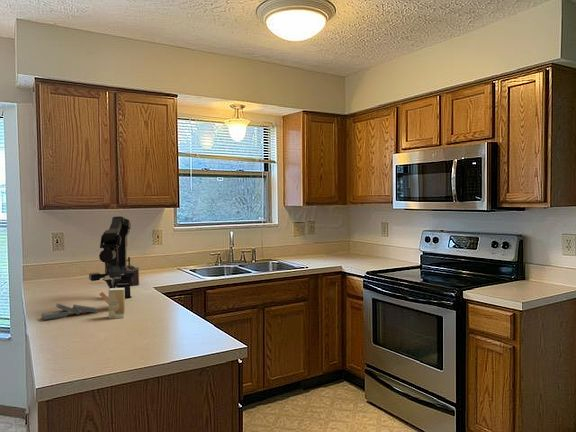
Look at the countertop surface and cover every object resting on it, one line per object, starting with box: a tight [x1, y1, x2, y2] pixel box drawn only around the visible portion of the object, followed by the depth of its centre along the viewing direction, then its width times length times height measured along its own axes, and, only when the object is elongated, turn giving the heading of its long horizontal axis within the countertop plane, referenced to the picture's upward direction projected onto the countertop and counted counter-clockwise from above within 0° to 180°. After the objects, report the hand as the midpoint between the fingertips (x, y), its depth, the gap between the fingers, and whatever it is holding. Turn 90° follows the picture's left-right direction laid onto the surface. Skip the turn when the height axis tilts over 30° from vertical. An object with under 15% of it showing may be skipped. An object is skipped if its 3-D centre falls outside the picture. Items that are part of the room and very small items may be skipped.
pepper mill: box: [127, 256, 140, 287], centre depth 263 cm, size 16×11×18 cm
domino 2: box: [41, 315, 68, 321], centre depth 190 cm, size 2×5×9 cm
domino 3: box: [55, 302, 81, 316], centre depth 193 cm, size 2×5×9 cm
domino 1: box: [41, 309, 69, 319], centre depth 189 cm, size 2×5×9 cm
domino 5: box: [99, 292, 109, 305], centre depth 202 cm, size 2×5×9 cm
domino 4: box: [72, 304, 99, 314], centre depth 196 cm, size 2×5×9 cm
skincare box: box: [108, 288, 126, 319], centre depth 189 cm, size 6×4×12 cm
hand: (112, 293), depth 204 cm, fingers closed
